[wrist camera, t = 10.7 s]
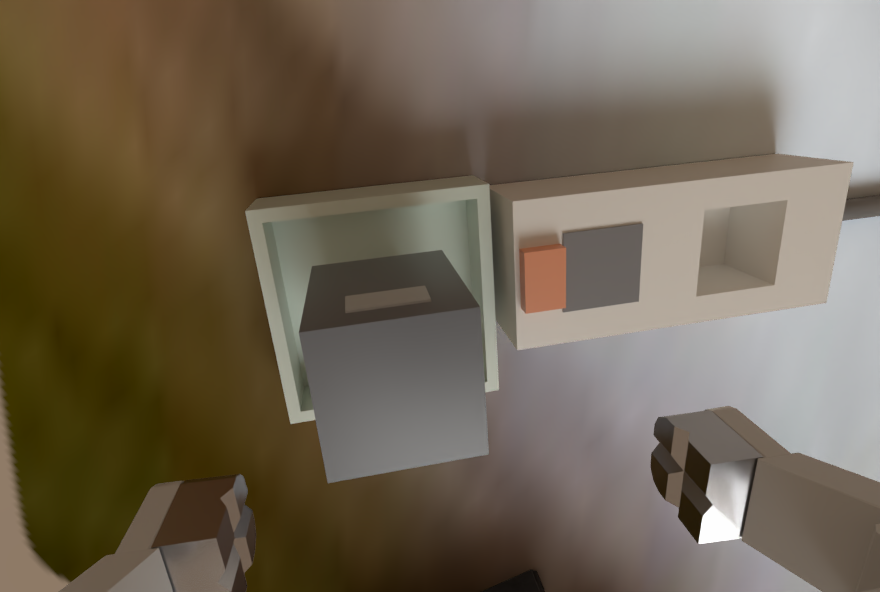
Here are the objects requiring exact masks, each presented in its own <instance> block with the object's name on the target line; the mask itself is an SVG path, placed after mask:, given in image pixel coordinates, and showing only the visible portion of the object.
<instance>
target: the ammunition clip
mask: <svg viewBox="0 0 880 592" xmlns="http://www.w3.org/2000/svg"><path fill="white" fill-rule="evenodd" d="M482 592H545V590H544V588H543V585H542V583H541V581H540V578H539V576H538V574H537V571H534V570H530V571H527V572H525V573H523V574H520V575H518V576H516V577H514V578H511V579H509V580H507V581H504V582H502V583H500V584H498V585H495V586H493V587H491V588H489V589H486V590H484V591H482Z"/></svg>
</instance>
